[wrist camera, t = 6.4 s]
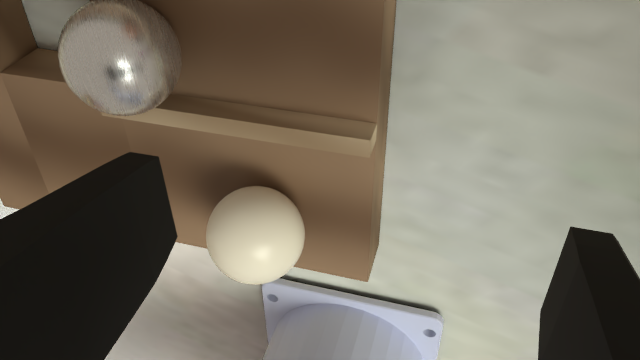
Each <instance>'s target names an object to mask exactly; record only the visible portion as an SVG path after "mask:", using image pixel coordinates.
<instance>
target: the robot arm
mask: <svg viewBox="0 0 640 360" xmlns="http://www.w3.org/2000/svg"><path fill="white" fill-rule="evenodd" d="M177 237H178V236H177V232H176V227H175V223H174V219H173V215H172V210H171V206H170V202H169V198H168V193H167V189H166V185H165V181H164V176H163V172H162V168H161V164H160V159H159V157H158V156H152V155H146V154H141V153H135V152H128V153H126V154H124V155H122V156H120V157H117V158H115V159H113V160H111V161H109V162H107V163H105V164H104V165H102V166H100V167H98V168H96V169H94V170H92V171H90V172H88V173H87V174H85V175H83V176H81V177H79V178H77V179H76V180H74V181H72V182H70V183H68V184H66V185H65V186H63V187H61V188H59V189H57V190H55V191H53V192H52V193H50V194H48V195H46V196H44V197H42V198H40V199H39V200H37V201H35V202H33V203H31V204H29V205H27V206H26V207H24V208H22V209H20V210H18V211H16V212H14V213H12V214H10V215H8V216H6V217H4V218H2V219H0V360H104V359H105V358H106V356H107V355H108V353H109V352H110V350H111V349H112V347H113V346H114V344H115V343H116V341H117V340H118V338H119V337H120V335H121V334H122V332H123V331H124V329H125V328H126V326H127V325H128V323H129V322H130V321H131V319H132V318H133V316H134V315H135V313H136V312H137V310H138V308H139V307H140V305H141V304H142V302H143V301H144V299H145V298H146V296H147V295H148V293H149V292H150V290H151V289H152V287H153V286H154V284H155V282H156V281H157V279H158V277H159V275H160V273H161V271H162V269H163V267H164V265H165V263H166V261H167V259H168V257H169V254H170V252H171V250H172V248H173V246H174V244H175V241H176V239H177ZM262 295H263V304H264V312H265V321H266V329H267V338H268V347H267V350H266V352H265V354H264V357H263V359H262V360H437V356H438V351H439V346H440V341H441V336H442V330H443V325H444V319H443V317H442V316H441V315H440V314H438V313H436V312H433V311H429V310H424V309H419V308H415V307H410V306H405V305H401V304H396V303H391V302H387V301H382V300H377V299H373V298H368V297H364V296H359V295H354V294H350V293H345V292H340V291H336V290H331V289H326V288H322V287H317V286H312V285H308V284H303V283H299V282H294V281H289V280H285V279H280V278H279V279H277V280H274V281H272V282H269V283H265V284H262ZM430 329H431V330H430ZM538 360H640V278H639V277H638V275H637V273H636V272H635V270H634V268H633V267H632V265H631V263H630V261H629V260H628V258H627V256H626V254H625V253H624V251H623V249H622V247H621V246H620V244H619V242H618V241H617V239H616V238H615V236H614V235H613V234H611V233H605V232H599V231H593V230H587V229H581V228H575V227H570V230H569V232H568V235H567V238H566V241H565V244H564V246H563V249H562V252H561V255H560V258H559V261H558V263H557V266H556V269H555V272H554V275H553V277H552V280H551V283H550V286H549V289H548V292H547V294H546V297H545V300H544V303H543V306H542V308H541V313H540V331H539V351H538Z"/></svg>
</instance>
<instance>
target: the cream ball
mask: <svg viewBox="0 0 640 360" xmlns="http://www.w3.org/2000/svg"><path fill="white" fill-rule="evenodd" d="M304 240H305V229H304V224H303V220H302V217H301V215H300V213H299V211H298V209H297V207H296V206H295V205H294V203H293V202H292V201H291V200H290V199H289V198H288V197H286V196H285V195H284V194H282V193H280V192H279V191H277V190H274V189H272V188H268V187H263V186H249V187H244V188H240V189H238V190H235V191H233V192H232V193H230V194H228V195H227V196H225V197H224V198H223V199H222V200H221V201H220V202H219V203H218V204H217V206H216V207H215V208H214V210H213V212H212V213H211V215H210V218H209V221H208V224H207V230H206V242H207V247H208V251H209V254H210V256H211V258H212V260H213V262H214V263H215V265H216V266H217V267H218V268H219V269H220V271H222V272H223V273H224V274H225V275H226V276H228V277H229V278H231V279H233V280H235V281H238V282H241V283H244V284H253V285H259V284H265V283H269V282H272V281H274V280H277V279H279V278H280V277H282V276H283V275H285V274H286V273H287V272H288V271H289V270H291V269H292V267H293V266H294V265H295V264H296V262H297V261H298V259H299V257H300V255H301V253H302V250H303V246H304Z"/></svg>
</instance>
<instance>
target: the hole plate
mask: <svg viewBox="0 0 640 360" xmlns="http://www.w3.org/2000/svg"><path fill="white" fill-rule="evenodd" d="M92 1H94V0H90V2H92ZM137 1H140V2H142V3H144V4H146V5H148V6H150V7H152V8H153V9H154V10H156V11H157V12H158V13H159V14H161V15H162V16H163V17H164V18H165V20H166V21H167V22H168V23H169V24H170V26H171V27H172V29H173V30H174V32H175V35H176V37H177V39H178V42H179V45H180V49H181V57H182V62H181V71H180V76H179V79H178V82H177V84H176V86H175V88H174V89H173V91H172V92H171V94H170V95H169V96H168V97H167V98H166V99H165V100H164V101H163V102H162V103H161V104H160V105H158V106H157V107H155V108H154V109H151V110H149V111H147V112H144V113H141V114H138V115H132V116H116V115H110V114H106V113H103V112H100V111H98V110H96V109H94V108H92V107H90V106H88V105H87V104H85V103H84V102H83V101H82V100H80V99H79V98H78V97H77V96H76V95H75V94H74V93H73V92H72V90H71V89H70V88H69V86H68V85H67V83H66V81H65V79H64V78H63V75H62V73H61V70H60V66H59V60H58V51H55V50H48V49H40V48H37V45H36V42H35V39H34V36H33V34H32V31H31V28H30V25H29V22H28V19H27V16H26V14H25V11H24V8H23V5H22V2H21V0H0V198H1V200H2V202H3V205H4V206H7V207H11V208H16V209H22V208H24V207H26V206H27V205H29V204H31V203H33V202H35V201H37V200H39V199H40V198H42V197H44V196H46V195H48V194H50V193H52V192H53V191H55V190H57V189H59V188H61V187H63V186H65V185H66V184H68V183H70V182H72V181H74V180H76V179H77V178H79V177H81V176H83V175H85V174H87V173H88V172H90V171H92V170H94V169H96V168H98V167H100V166H102V165H104V164H105V163H107V162H109V161H111V160H113V159H115V158H117V157H120V156H122V155H124V154H126V153H128V152H135V153H141V154H146V155H152V156H158V157H159V159H160V164H161V168H162V172H163V176H164V181H165V185H166V189H167V193H168V198H169V202H170V206H171V210H172V215H173V219H174V223H175V227H176V232H177V236H178V237H177V239H176V241H175V242H179V243H183V244H188V245H193V246H198V247H203V248H207V249H208V247H207V242H206V230H207V224H208V221H209V218H210V215H211V213H212V212H213V210H214V208H215V207H216V206H217V204H218V203H219V202H220V201H221V200H222V199H223V198H224V197H225V196H227V195H228V194H230V193H232V192H233V191H235V190H238V189H240V188H244V187H249V186H263V187H268V188H272V189H274V190H277V191H279V192H280V193H282V194H284V195H285V196H286V197H288V198H289V199H290V200H291V201H292V202H293V203H294V205H295V206H296V207H297V209H298V211H299V213H300V215H301V217H302V220H303V224H304V229H305V240H304V246H303V250H302V253H301V255H300V257H299V259H298V261H297V262H296V264H295V265H294V266H293V267H298V268H303V269H308V270H313V271H317V272H322V273H327V274H332V275H336V276H341V277H346V278H351V279H356V280H360V281H365V282H368V279H369V276H370V273H371V269H372V266H373V262H374V259H375V255H376V252H377V249H378V245H379V233H380V219H381V206H382V192H383V178H384V164H385V150H386V137H387V123H388V109H389V95H390V82H391V68H392V54H393V40H394V27H395V13H396V0H137Z"/></svg>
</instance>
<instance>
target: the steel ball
mask: <svg viewBox="0 0 640 360" xmlns="http://www.w3.org/2000/svg"><path fill="white" fill-rule="evenodd" d="M58 60H59V66H60V70H61V73H62V75H63V78H64V79H65V81H66V83H67V85H68V86H69V88H70V89H71V90H72V92H73V93H74V94H75V95H76V96H77V97H78V98H79V99H80V100H82V101H83V102H84V103H85V104H87V105H88V106H90V107H92V108H94V109H96V110H98V111H100V112H103V113H106V114H110V115H116V116H132V115H138V114H141V113H144V112H147V111H149V110H151V109H154V108H155V107H157V106H158V105H160V104H161V103H162V102H163V101H164V100H165V99H166V98H167V97H168V96H169V95H170V94H171V92H172V91H173V89H174V88H175V86H176V84H177V82H178V79H179V76H180V71H181V62H182V57H181V49H180V45H179V42H178V39H177V37H176V35H175V32H174V30H173V29H172V27H171V26H170V24H169V23H168V22H167V21H166V20H165V18H164V17H163V16H162V15H161V14H159V13H158V12H157V11H156V10H154V9H153V8H152V7H150V6H148V5H146V4H144V3H142V2H140V1H137V0H94V1H92V2H89V3H87V4H85V5H84V6H82V7H81V8H79V9H78V10H77V11H76V12H75V13H74V14H73V15H72V16H71V17H70V18H69V20H68V21H67V23H66V24H65V26H64V28H63V30H62V32H61V35H60V39H59V44H58Z"/></svg>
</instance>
